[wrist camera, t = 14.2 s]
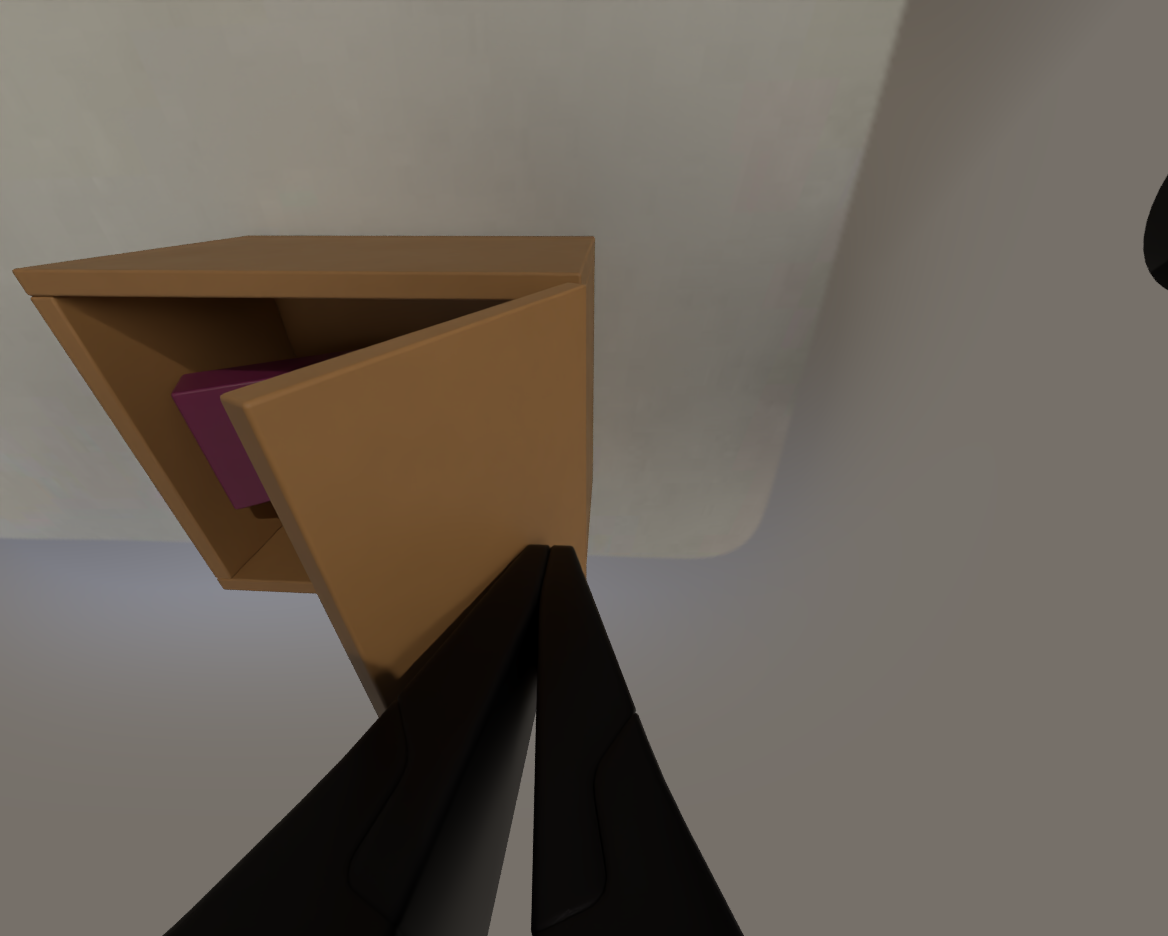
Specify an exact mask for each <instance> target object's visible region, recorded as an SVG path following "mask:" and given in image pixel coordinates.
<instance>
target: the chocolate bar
mask: <svg viewBox="0 0 1168 936" xmlns="http://www.w3.org/2000/svg"><path fill="white" fill-rule="evenodd" d="M362 349H363V348H362ZM357 350H360V349H355V350H348V351H341V352H334V353H327V354H320V355H314V356H307V357H300V358H293V359H286V360H279V361H272V362H265V363H258V364H252V365H245V366H238V367H231V368H224V369H217V370H210V371H203V372H196V373H189V374H184V375H182V376H181V378H180V380H179V381H178V383H177V385H176V386H175V388H174V390H173V391H172V393H171V397H172V399H173V400H174V402H175V404H176V406H177V408H178V409H179V411H180V413H181V415H182V416H183V418H184V420H185V422H186V424H187V425H188V427H189V429H190V431H191V432H192V434H193V436H194V438H195V440H196V441H197V443H198V445H199V447H200V448H201V450H202V452H203V454H204V455H205V457H206V459H207V461H208V463H209V464H210V466H211V468H212V470H213V471H214V473H215V475H216V477H217V479H218V480H219V482H220V484H221V486H222V487H223V489H224V491H225V493H226V495H227V496H228V498H229V500H230V502H231V503H232V505H233V507H234V508H235V509H242V508H246V507H250V506H254V505H258V504H262V503H265V502H269V501H270V499H269V497H268V495H267V493H266V491H265V489H264V487H263V485H262V483H261V481H260V479H259V477H258V475H257V473H256V471H255V469H254V467H253V465H252V463H251V461H250V459H249V457H248V455H247V453H246V451H245V449H244V447H243V445H242V443H241V441H240V439H239V437H238V435H237V433H236V431H235V429H234V427H233V425H232V423H231V421H230V419H229V417H228V415H227V413H226V411H225V409H224V406H223V404H222V402H221V400H220V396H221V395H222V394H224V393H226V392H229V391H232V390H235V389H239V388H242V387H245V386H248V385H251V384H254V383H257V382H260V381H263V380H267V379H270V378H273V377H276V376H279V375H282V374H285V373H288V372H291V371H294V370H298V369H301V368H304V367H307V366H310V365H313V364H316V363H319V362H322V361H326V360H329V359H332V358H335V357H338V356H341V355H344V354H347V353H350V352H353V351H357Z"/></svg>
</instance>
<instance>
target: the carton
mask: <svg viewBox="0 0 1168 936" xmlns="http://www.w3.org/2000/svg"><path fill="white" fill-rule="evenodd" d="M594 268H595V238H594V237H593V236H242V237H235V238H228V239H221V240H214V241H207V242H200V243H193V244H186V245H179V246H172V247H165V248H157V249H150V250H143V251H136V252H129V253H122V254H115V255H108V256H101V257H94V258H87V259H80V260H73V261H66V262H59V263H52V264H44V265H37V266H30V267H23V268H16V269H14V270H12V271H13V274H14V275H15V277H16V278H17V280H18V281H19V283H20V284H21V286H22V287H23V289H24V290H25V292H26V293H27V294H28V295H30V296H32V297H31V301H32V302H33V304H34V305H35V307H36V308H37V310H38V311H39V313H40V314H41V316H42V317H43V319H44V320H45V322H46V323H47V325H48V326H49V328H50V329H51V331H52V332H53V334H54V335H55V337H56V338H57V340H58V341H59V343H60V344H61V346H62V347H63V349H64V350H65V352H66V353H67V355H68V356H69V358H70V359H71V361H72V362H73V364H74V365H75V367H76V368H77V370H78V371H79V373H80V374H81V376H82V377H83V379H84V380H85V382H86V383H87V385H88V386H89V388H90V389H91V391H92V392H93V394H94V395H95V397H96V398H97V400H98V401H99V403H100V404H101V406H102V407H103V409H104V410H105V412H106V413H107V415H108V416H109V418H110V419H111V421H112V422H113V424H114V425H115V427H116V428H117V430H118V431H119V433H120V434H121V436H122V437H123V439H124V440H125V442H126V443H127V445H128V446H129V448H130V449H131V451H132V452H133V454H134V455H135V457H136V458H137V460H138V461H139V463H140V464H141V466H142V467H143V469H144V470H145V472H146V473H147V475H148V476H149V478H150V479H151V481H152V482H153V484H154V485H155V487H156V488H157V490H158V491H159V493H160V494H161V496H162V497H163V499H164V500H165V502H166V503H167V505H168V506H169V508H170V509H171V511H172V512H173V514H174V515H175V517H176V518H177V520H178V521H179V523H180V524H181V526H182V527H183V529H184V530H185V532H186V533H187V535H188V536H189V538H190V539H191V541H192V542H193V544H194V545H195V547H196V548H197V550H198V551H199V553H200V554H201V556H202V557H203V559H204V560H205V561H206V563H207V565H208V566H209V568H210V569H211V571H212V572H213V574H214V575H215V577H217V578H218V579H217V580H218V581H219V583H220V584H221V586H222V587H223V589H227V590H249V591H250V590H251V591H272V592H294V593H316V591H315V589H314V587H313V585H312V583H311V581H310V579H309V577H308V575H307V573H306V571H305V569H304V567H303V565H302V563H301V561H300V559H299V557H298V555H297V553H296V551H295V549H294V547H293V545H292V543H291V541H290V539H289V537H288V535H287V533H286V531H285V529H284V527H283V525H282V523H281V521H280V519H279V517H278V515H277V513H276V511H275V509H274V507H273V505H272V503H271V501H269V502H265V503H262V504H258V505H254V506H250V507H246V508H242V509H235V508H234V507H233V505H232V503H231V502H230V500H229V498H228V496H227V495H226V493H225V491H224V489H223V487H222V486H221V484H220V482H219V480H218V479H217V477H216V475H215V473H214V471H213V470H212V468H211V466H210V464H209V463H208V461H207V459H206V457H205V455H204V454H203V452H202V450H201V448H200V447H199V445H198V443H197V441H196V440H195V438H194V436H193V434H192V432H191V431H190V429H189V427H188V425H187V424H186V422H185V420H184V418H183V416H182V415H181V413H180V411H179V409H178V408H177V406H176V404H175V402H174V400H173V399H172V397H171V393H172V391H173V390H174V388H175V386H176V385H177V383H178V381H179V380H180V378H181V376H182V375H184V374H189V373H196V372H203V371H210V370H217V369H224V368H231V367H238V366H245V365H252V364H258V363H265V362H272V361H279V360H286V359H293V358H300V357H307V356H314V355H320V354H327V353H334V352H341V351H348V350H355V349H362V348H366V347H369V346H372V345H375V344H378V343H381V342H385V341H388V340H391V339H394V338H397V337H400V336H403V335H406V334H409V333H412V332H416V331H419V330H422V329H425V328H428V327H431V326H434V325H437V324H440V323H444V322H447V321H450V320H453V319H456V318H459V317H462V316H465V315H468V314H472V313H475V312H478V311H481V310H484V309H487V308H490V307H493V306H496V305H499V304H503V303H506V302H509V301H512V300H515V299H518V298H521V297H524V296H527V295H531V294H534V293H537V292H540V291H543V290H546V289H549V288H552V287H555V286H558V285H562V284H565V283H577V284H584V285H586V562H587V549H588V535H589V522H590V508H591V494H592V481H593V378H594ZM316 594H317V593H316Z"/></svg>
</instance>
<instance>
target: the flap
mask: <svg viewBox="0 0 1168 936" xmlns="http://www.w3.org/2000/svg"><path fill="white" fill-rule="evenodd" d="M220 400H221V402H222V404H223V406H224V409H225V411H226V413H227V415H228V417H229V419H230V421H231V423H232V425H233V427H234V429H235V431H236V433H237V435H238V437H239V439H240V441H241V443H242V445H243V447H244V449H245V451H246V453H247V455H248V457H249V459H250V461H251V463H252V465H253V467H254V469H255V471H256V473H257V475H258V477H259V479H260V481H261V483H262V485H263V487H264V489H265V491H266V493H267V495H268V497H269V499H270V501H271V503H272V505H273V507H274V509H275V511H276V513H277V515H278V517H279V519H280V521H281V523H282V525H283V527H284V529H285V531H286V533H287V535H288V537H289V539H290V541H291V543H292V545H293V547H294V549H295V551H296V553H297V555H298V557H299V559H300V561H301V563H302V565H303V567H304V569H305V571H306V573H307V575H308V577H309V579H310V581H311V583H312V585H313V587H314V589H315V591H316V593H317V595H318V597H319V599H320V601H321V603H322V604H323V607H324V609H325V611H326V613H327V615H328V617H329V619H330V621H331V623H332V625H333V627H334V629H335V631H336V633H337V635H338V637H339V639H340V641H341V643H342V644H343V647H344V649H345V651H346V653H347V655H348V657H349V659H350V661H351V663H352V665H353V667H354V669H355V671H356V673H357V675H358V677H359V679H360V681H361V683H362V685H363V687H364V689H365V691H366V693H367V695H368V697H369V699H370V701H371V703H372V705H373V707H374V709H375V711H376V713H377V715H378V717H380V716H381V715H382V714H383V712H384V711H385V710H386V709H387V708H388V707H389V705H390V704H391V703H392V702H393V701H398V695H399V694H400V693H401V692H402V691H403V690H404V688H405V687H406V686H407V685H408V684H409V683H410V681H411V680H412V679H413V678H414V677H415V676H416V674H417V673H418V672H419V671H420V670H421V669H422V667H423V666H424V665H425V664H426V663H427V662H428V660H429V659H430V658H431V657H432V656H433V655H434V653H435V652H436V651H437V650H438V649H439V648H440V647H441V645H442V644H443V643H444V642H445V641H446V640H447V638H448V637H449V636H450V635H451V634H452V633H453V631H454V630H455V629H456V628H457V627H458V626H459V624H460V623H461V622H462V621H463V620H464V619H465V617H466V616H467V615H468V614H469V613H470V612H471V610H472V609H473V608H474V607H475V606H476V605H477V604H478V602H479V601H480V600H481V599H482V598H483V597H484V595H485V594H486V593H487V592H488V591H489V590H490V588H491V587H492V586H493V585H494V584H495V583H496V581H497V580H498V579H499V578H500V577H501V576H502V574H503V573H504V572H505V571H506V570H507V569H508V567H509V566H510V565H511V564H512V563H513V562H514V561H515V559H516V558H517V557H518V556H519V555H520V554H521V552H522V551H523V550H524V549H525V548H526V547H527V546H528V545H530V544H541V545H549V546H550V547H552V546H553V545H570V546H573V548H574V549H575V552H576V554H577V557H578V560H579V562H580V565H581V567H582V570H583V573H584V575H585V578H586V285H584V284H577V283H565V284H562V285H558V286H555V287H552V288H549V289H546V290H543V291H540V292H537V293H534V294H531V295H527V296H524V297H521V298H518V299H515V300H512V301H509V302H506V303H503V304H499V305H496V306H493V307H490V308H487V309H484V310H481V311H478V312H475V313H472V314H468V315H465V316H462V317H459V318H456V319H453V320H450V321H447V322H444V323H440V324H437V325H434V326H431V327H428V328H425V329H422V330H419V331H416V332H412V333H409V334H406V335H403V336H400V337H397V338H394V339H391V340H388V341H385V342H381V343H378V344H375V345H372V346H369V347H366V348H363V349H360V350H357V351H353V352H350V353H347V354H344V355H341V356H338V357H335V358H332V359H329V360H326V361H322V362H319V363H316V364H313V365H310V366H307V367H304V368H301V369H298V370H294V371H291V372H288V373H285V374H282V375H279V376H276V377H273V378H270V379H267V380H263V381H260V382H257V383H254V384H251V385H248V386H245V387H242V388H239V389H235V390H232V391H229V392H226V393H224V394H222V395H221V396H220Z"/></svg>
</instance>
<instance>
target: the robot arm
mask: <svg viewBox="0 0 1168 936" xmlns="http://www.w3.org/2000/svg"><path fill="white" fill-rule="evenodd" d="M635 712H636V709H635V706H634V703H633V701H632V698H631V695H630V693H629V690H628V687H627V685H626V682H625V680H624V677H623V675H622V672H621V669H620V667H619V664H618V661H617V659H616V656H615V654H614V651H613V649H612V646H611V643H610V641H609V638H608V636H607V633H606V630H605V628H604V625H603V622H602V620H601V617H600V614H599V612H598V609H597V607H596V604H595V601H594V599H593V596H592V593H591V591H590V588H589V586H588V583H587V581H586V578H585V575H584V573H583V570H582V567H581V565H580V562H579V560H578V557H577V554H576V552H575V549H574V548H573V546H570V545H553V546H552V547H550V546H549V545H541V544H530V545H528V546H527V547H526V548H525V549H524V550H523V551H522V552H521V554H520V555H519V556H518V557H517V558H516V559H515V561H514V562H513V563H512V564H511V565H510V566H509V567H508V569H507V570H506V571H505V572H504V573H503V574H502V576H501V577H500V578H499V579H498V580H497V581H496V583H495V584H494V585H493V586H492V587H491V588H490V590H489V591H488V592H487V593H486V594H485V595H484V597H483V598H482V599H481V600H480V601H479V602H478V604H477V605H476V606H475V607H474V608H473V609H472V610H471V612H470V613H469V614H468V615H467V616H466V617H465V619H464V620H463V621H462V622H461V623H460V624H459V626H458V627H457V628H456V629H455V630H454V631H453V633H452V634H451V635H450V636H449V637H448V638H447V640H446V641H445V642H444V643H443V644H442V645H441V647H440V648H439V649H438V650H437V651H436V652H435V653H434V655H433V656H432V657H431V658H430V659H429V660H428V662H427V663H426V664H425V665H424V666H423V667H422V669H421V670H420V671H419V672H418V673H417V674H416V676H415V677H414V678H413V679H412V680H411V681H410V683H409V684H408V685H407V686H406V687H405V688H404V690H403V691H402V692H401V693H400V694H399V695H398V701H393V702H392V703H391V704H390V705H389V707H388V708H387V709H386V710H385V711H384V712H383V714H382V715H381V716H380V717H379V718H378V719H377V721H376V722H375V723H374V724H373V725H372V726H371V727H370V729H369V730H368V731H367V732H366V733H365V734H364V735H363V736H362V737H361V739H360V740H359V741H358V742H357V743H356V744H355V745H354V747H352V749H351V750H350V751H349V752H348V753H347V754H346V755H345V756H344V757H343V759H342V760H341V761H340V762H339V763H338V764H337V765H336V766H335V767H334V768H333V769H332V770H331V771H330V772H329V773H328V774H327V775H326V776H325V777H324V778H323V779H322V780H321V781H320V782H319V783H318V784H317V785H316V786H315V787H314V788H313V789H312V790H311V791H310V792H309V793H308V794H307V795H306V796H305V797H304V798H303V799H302V800H301V802H300V803H298V804H297V805H296V806H295V807H294V808H293V809H292V810H291V811H290V812H289V813H288V814H287V815H286V816H285V817H284V818H283V819H282V820H281V821H280V822H279V823H278V824H277V825H276V826H275V827H274V828H273V829H272V830H271V831H270V832H269V833H268V834H267V835H266V836H265V837H264V838H263V839H262V840H261V841H260V842H259V843H258V844H257V845H256V846H255V847H254V848H253V849H252V850H251V851H250V852H249V853H248V854H247V855H246V856H245V857H244V858H242V860H240V862H238V863H237V864H236V866H234V867H233V868H232V870H230V871H229V872H228V873H227V874H226V875H225V876H224V877H223V878H222V879H221V880H220V881H219V882H218V883H217V884H216V885H215V886H214V887H213V888H212V889H211V890H210V891H209V892H208V893H207V894H206V895H205V896H204V897H203V898H202V899H201V900H200V901H199V902H198V903H197V904H196V905H195V906H194V907H193V908H192V909H191V910H190V911H189V912H188V913H187V914H185V915H184V916H183V917H182V918H181V919H180V920H179V921H178V922H177V923H176V924H175V925H174V926H173V927H172V928H171V929H169V930H168V931H167V932H166V933H165V934H164V935H163V936H487V935H488V930H489V926H490V921H491V916H492V912H493V907H494V902H495V898H496V893H497V888H498V884H499V879H500V875H501V870H502V865H503V861H504V856H505V851H506V847H507V842H508V838H509V833H510V828H511V824H512V819H513V815H514V810H515V805H516V800H517V796H518V791H519V786H520V782H521V777H522V773H523V768H524V763H525V759H526V754H527V750H528V745H529V740H530V736H531V731H532V726H533V722H534V717H535V713H536V743H535V744H536V745H535V786H534V829H533V872H532V873H533V874H532V915H531V932H532V936H744V935H743V933H742V931H741V930H740V927H739V926H738V924H737V922H736V920H735V918H734V916H733V914H732V912H731V910H730V908H729V906H728V905H727V902H726V900H725V898H724V897H723V895H722V893H721V891H720V889H719V887H718V885H717V883H716V881H715V879H714V877H713V875H712V873H711V872H710V869H709V868H708V866H707V864H706V862H705V860H704V858H703V857H702V854H701V852H700V850H699V848H698V846H697V844H696V842H695V841H694V839H693V837H692V835H691V833H690V831H689V829H688V827H687V825H686V823H685V821H684V819H683V817H682V815H681V813H680V811H679V809H678V806H677V804H676V802H675V800H674V798H673V796H672V794H671V792H670V790H669V788H668V786H667V784H666V782H665V780H664V777H663V775H662V772H661V770H660V768H659V765H658V763H657V760H656V758H655V756H654V753H653V751H652V749H651V746H650V744H649V742H648V739H647V736H646V734H645V731H644V728H643V726H642V723H641V721H640V718H639V715H638V714H637V713H635Z"/></svg>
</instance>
